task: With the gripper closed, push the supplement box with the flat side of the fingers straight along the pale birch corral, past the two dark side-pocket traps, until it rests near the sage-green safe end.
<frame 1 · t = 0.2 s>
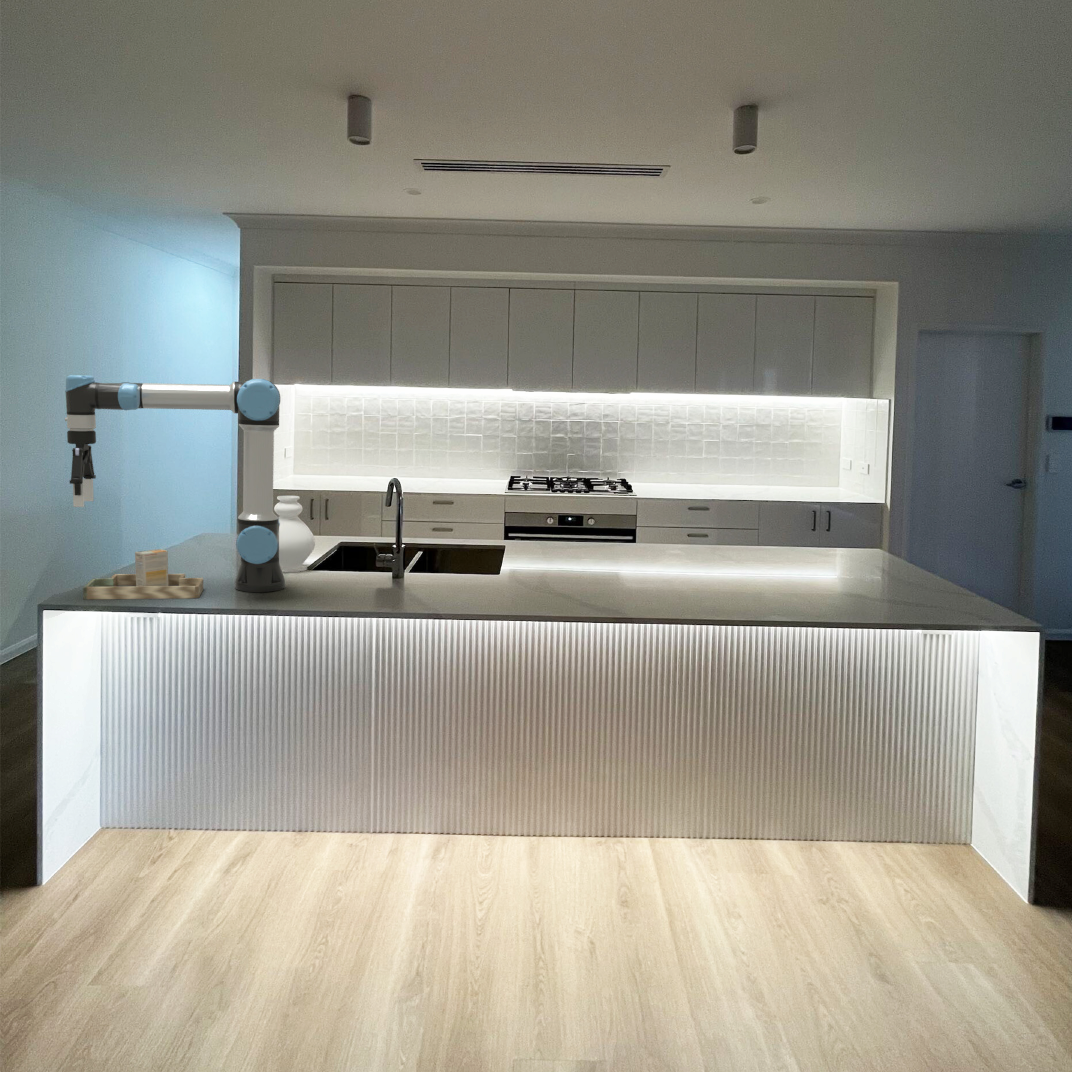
hand: (83, 504, 310), 28 cm above the worktop, fingers open, 13 cm apart
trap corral: (145, 594, 322), on the worktop
supplement box: (152, 594, 322), resting in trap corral
decorative vase: (288, 569, 370), on the worktop
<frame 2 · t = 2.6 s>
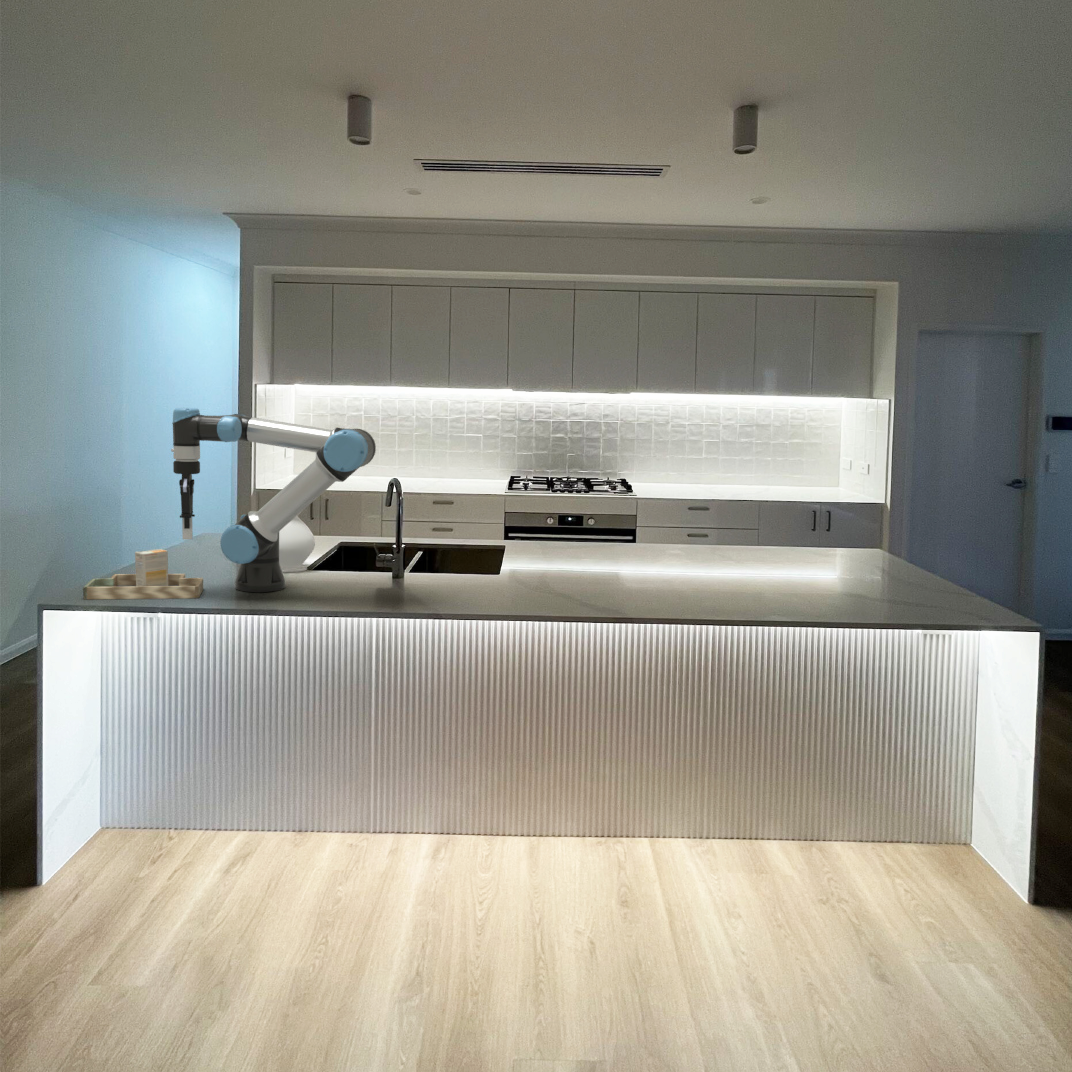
hand: (187, 538, 322), 17 cm above the worktop, fingers closed
nothing on the worktop moved.
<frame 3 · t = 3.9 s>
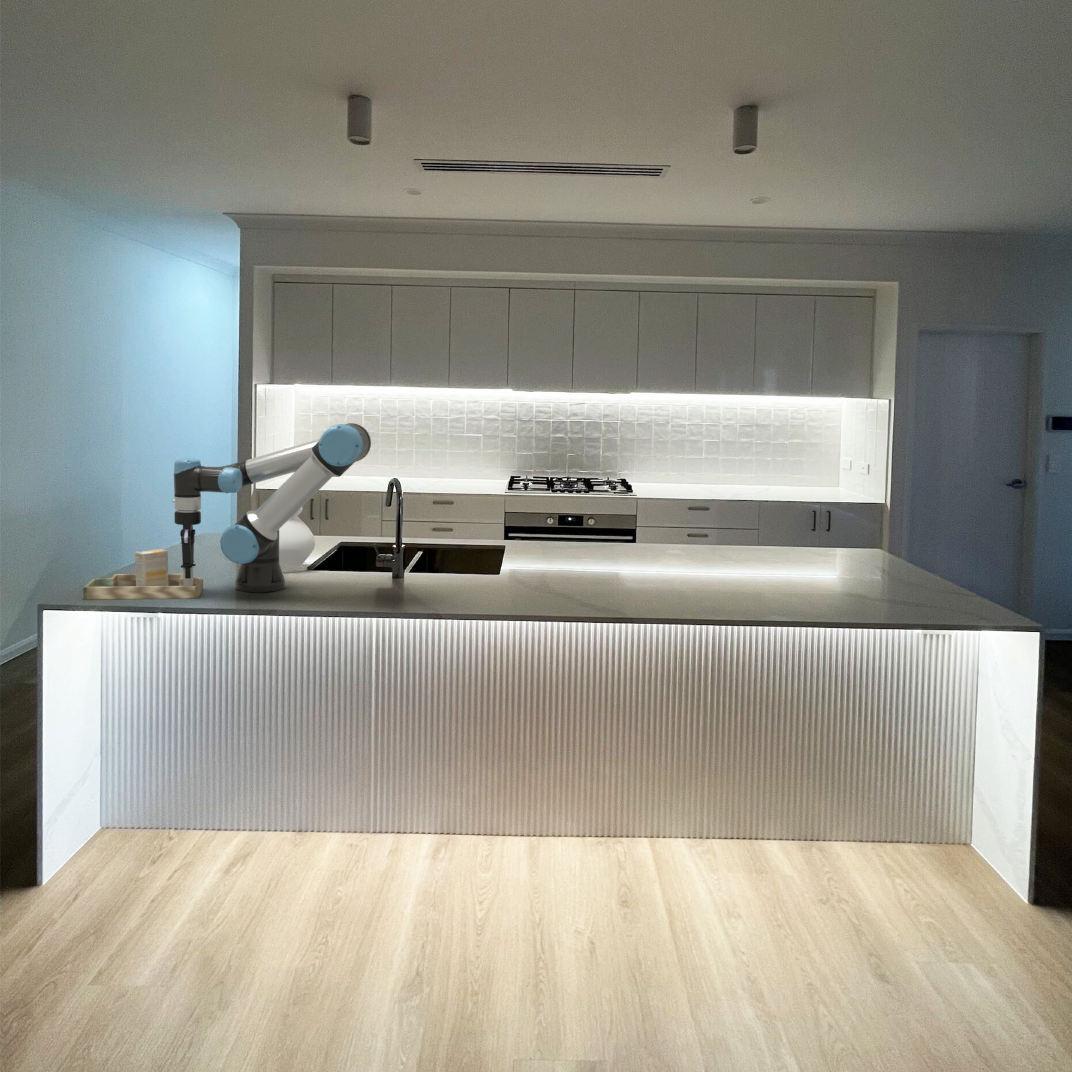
hand: (188, 588, 324), 2 cm above the worktop, fingers closed
nothing on the worktop moved.
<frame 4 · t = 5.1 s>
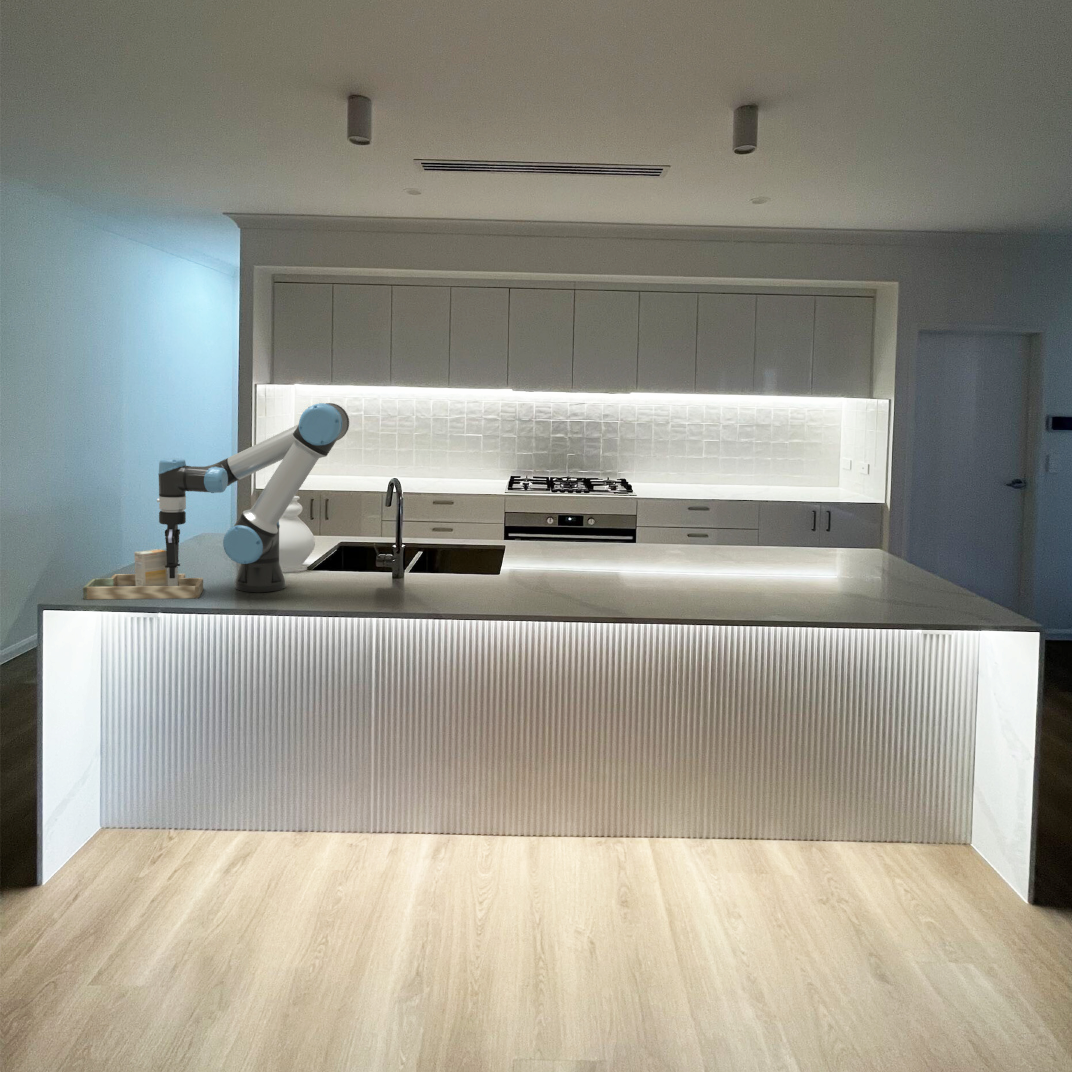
hand: (172, 588, 323), 2 cm above the worktop, fingers closed
supplement box: (151, 594, 322), resting in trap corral, touching gripper
everything else where it was.
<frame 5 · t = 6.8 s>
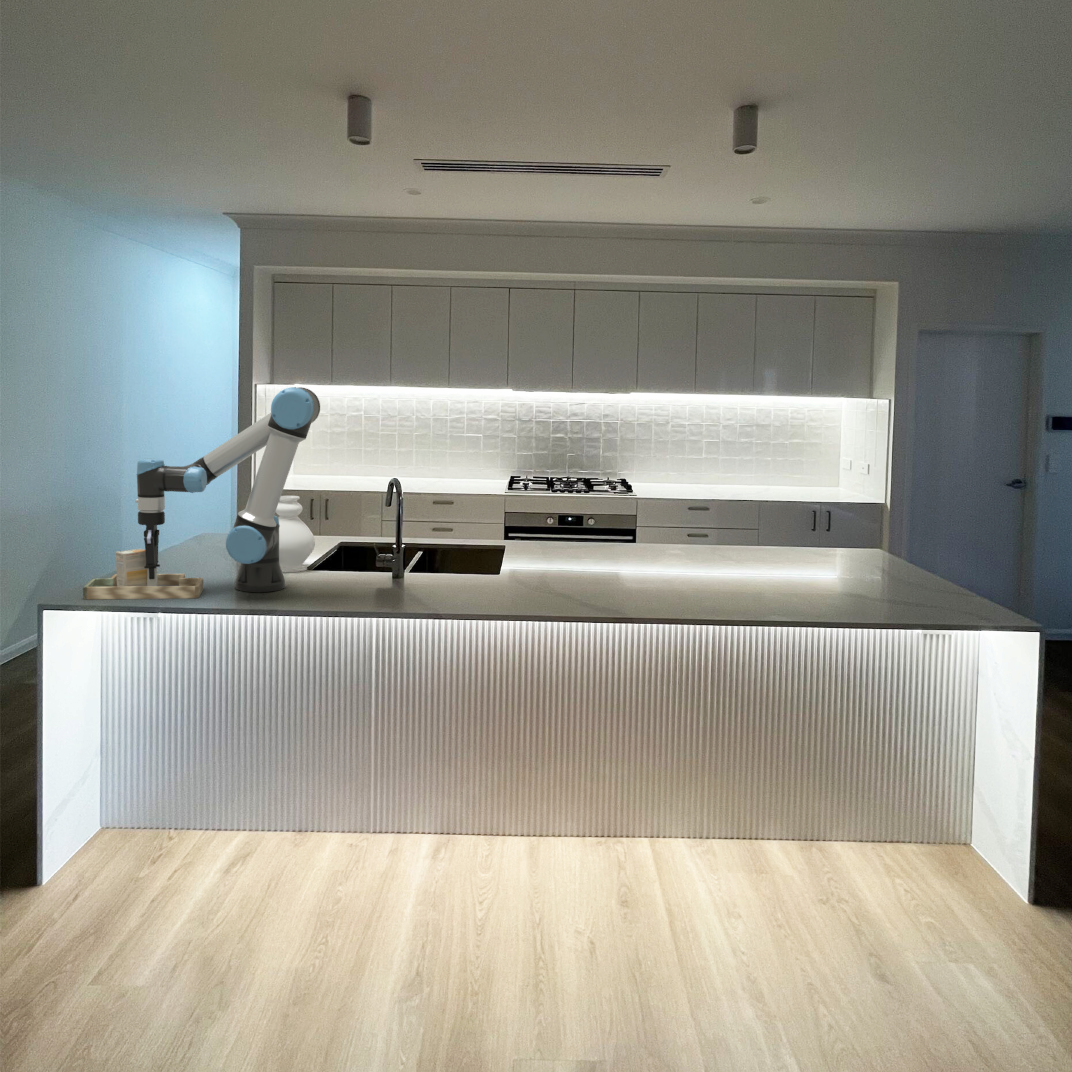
hand: (152, 589, 322), 1 cm above the worktop, fingers closed
supplement box: (133, 594, 321), resting in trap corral, touching gripper
everything else where it was.
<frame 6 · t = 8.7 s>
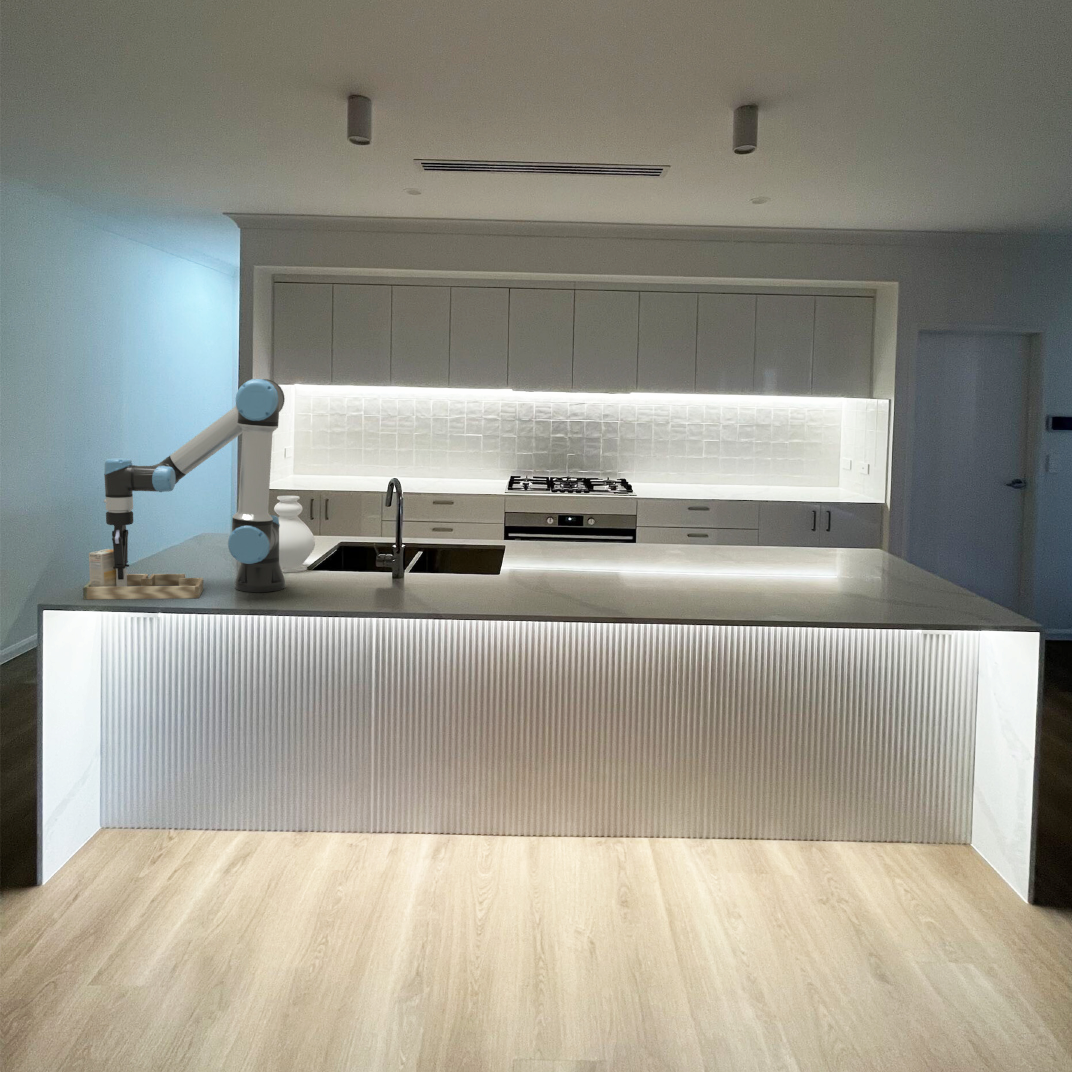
hand: (122, 589, 320), 1 cm above the worktop, fingers closed
supplement box: (105, 595, 320), resting in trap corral, touching gripper, hand
everything else where it was.
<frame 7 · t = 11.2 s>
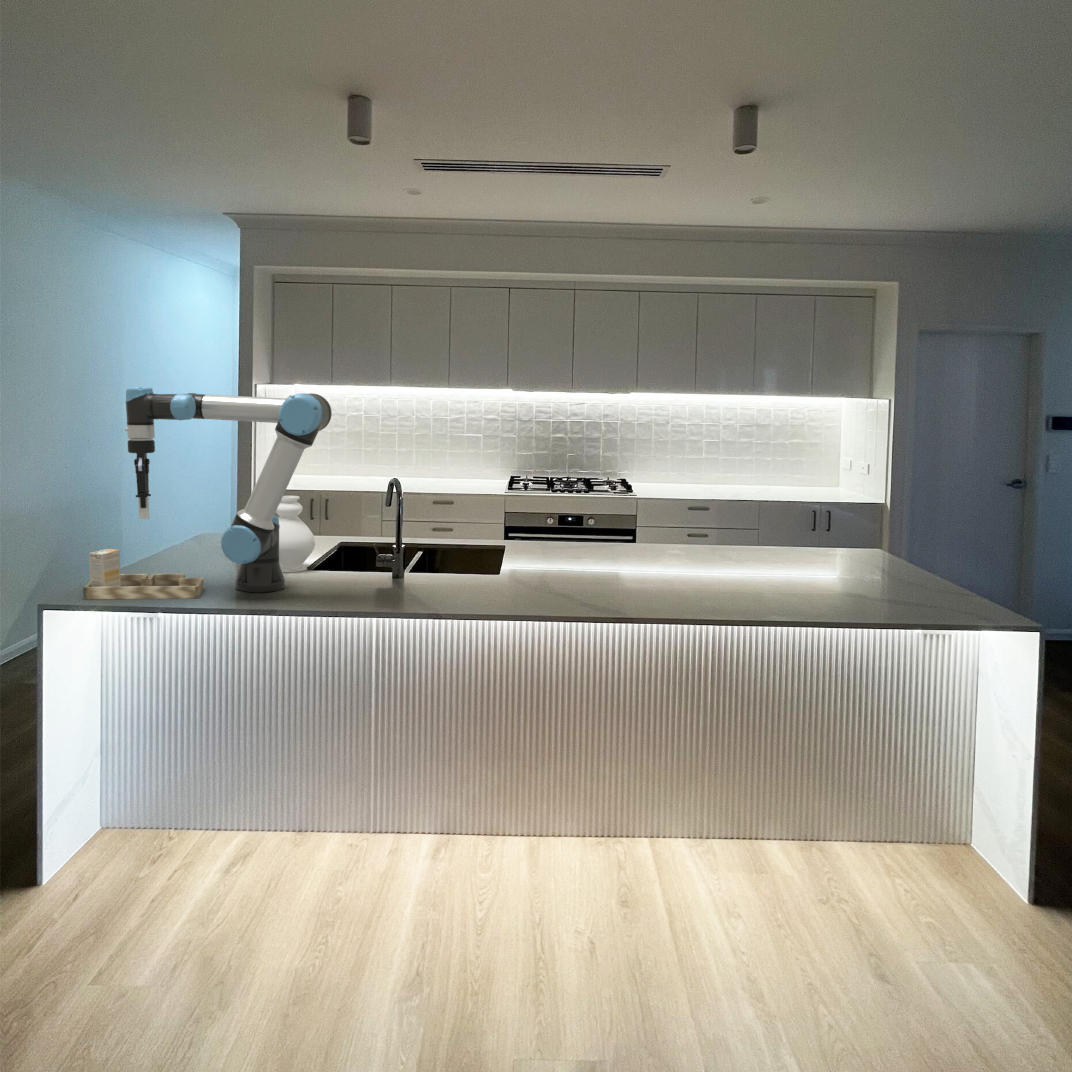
hand: (144, 518, 322), 22 cm above the worktop, fingers closed
supplement box: (105, 595, 320), resting in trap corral
everything else where it was.
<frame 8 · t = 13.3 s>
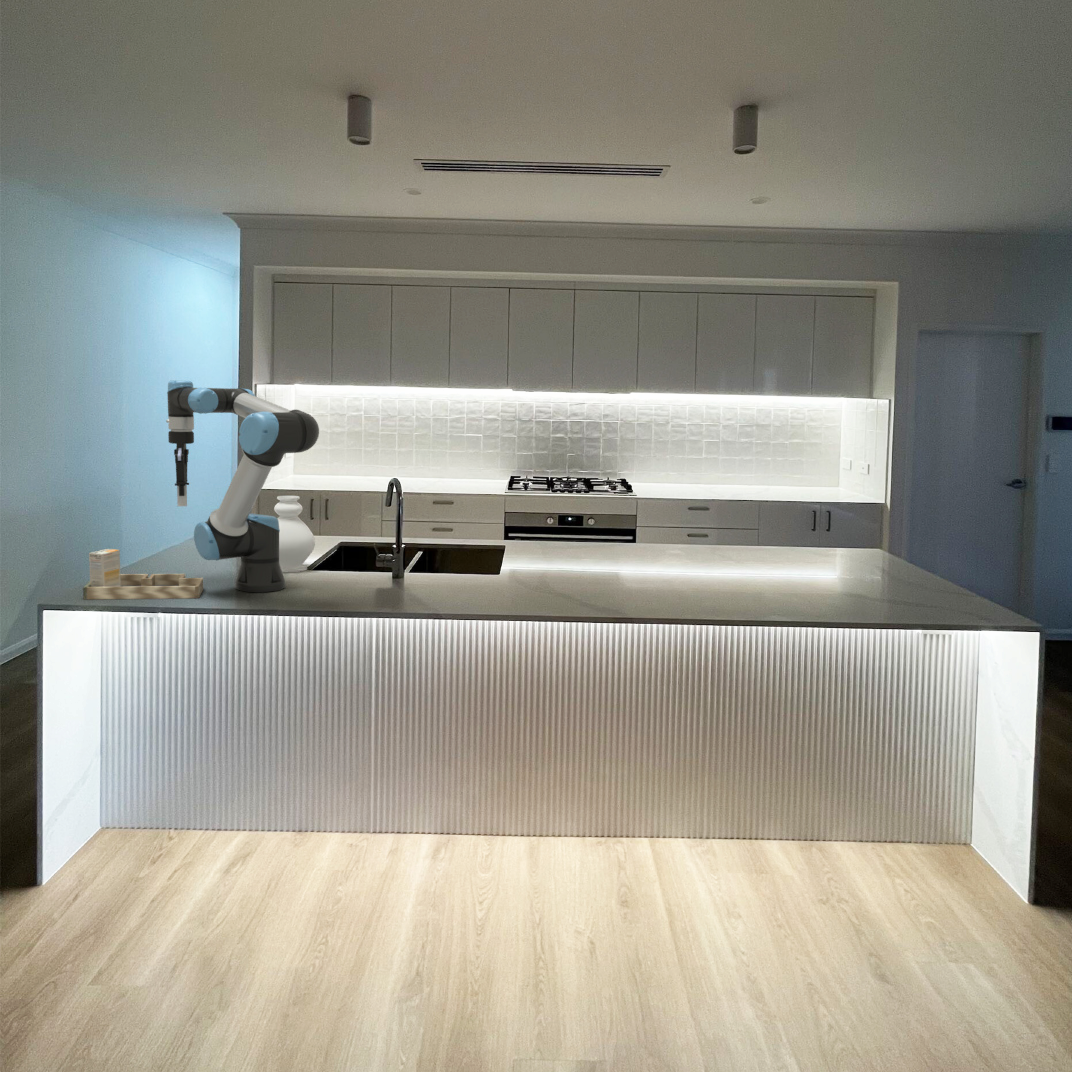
hand: (182, 505, 338), 24 cm above the worktop, fingers closed
nothing on the worktop moved.
at the end: supplement box inside the target area (0.8 cm from its centre), resting in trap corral; supplement box tilted 0° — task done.
